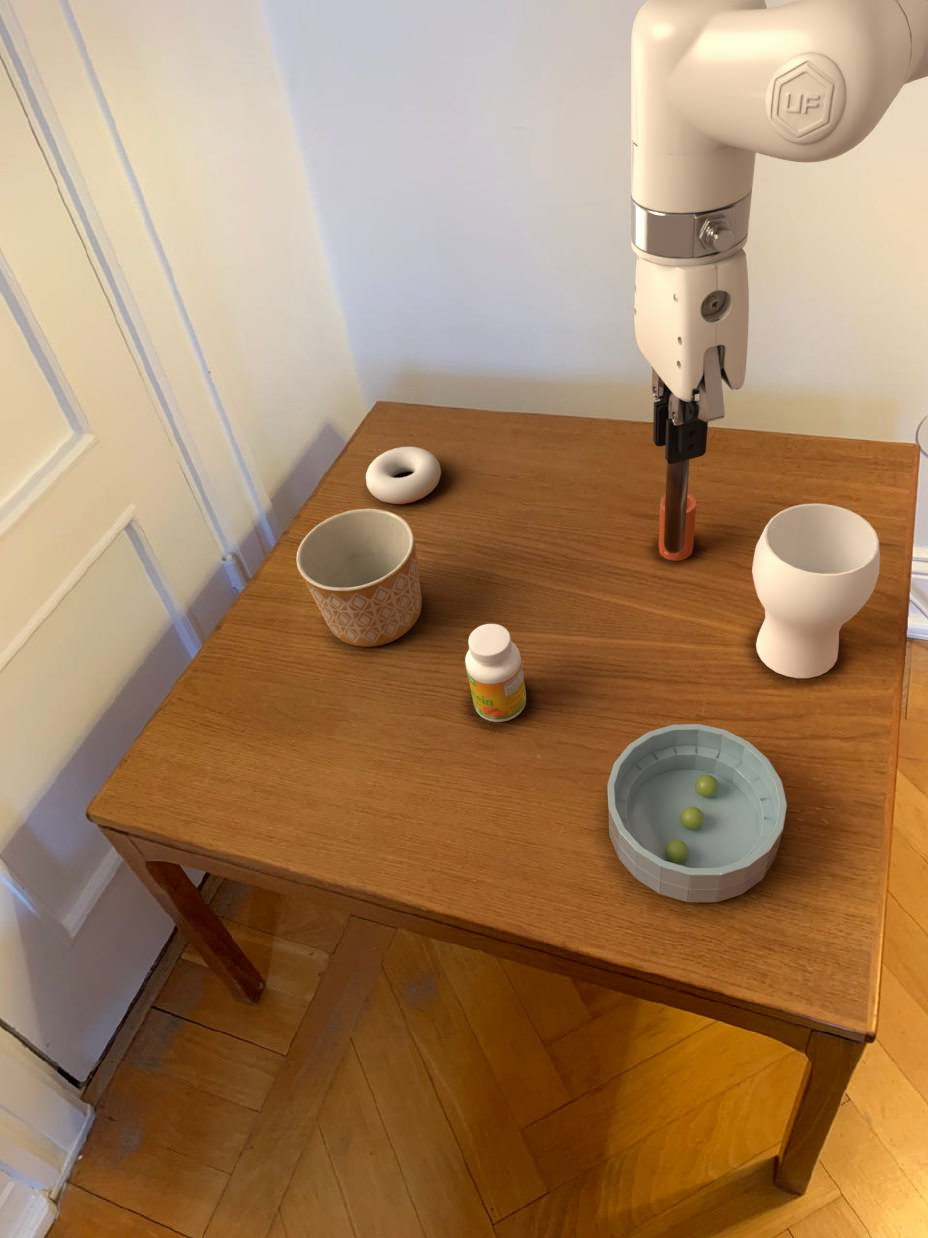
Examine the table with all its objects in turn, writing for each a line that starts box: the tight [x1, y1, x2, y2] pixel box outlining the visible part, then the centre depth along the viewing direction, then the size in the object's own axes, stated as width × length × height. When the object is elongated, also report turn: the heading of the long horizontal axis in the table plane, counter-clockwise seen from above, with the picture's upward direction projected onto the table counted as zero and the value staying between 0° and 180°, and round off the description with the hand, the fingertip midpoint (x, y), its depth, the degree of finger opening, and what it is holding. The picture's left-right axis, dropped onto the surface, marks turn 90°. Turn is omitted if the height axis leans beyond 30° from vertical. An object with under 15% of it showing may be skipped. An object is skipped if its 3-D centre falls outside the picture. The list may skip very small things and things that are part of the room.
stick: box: [664, 393, 693, 553], centre depth 71 cm, size 2×2×17 cm
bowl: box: [606, 723, 788, 903], centre depth 73 cm, size 14×14×6 cm
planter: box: [295, 508, 423, 648], centre depth 94 cm, size 13×13×10 cm
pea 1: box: [665, 840, 689, 865], centre depth 72 cm, size 2×2×2 cm
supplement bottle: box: [464, 623, 527, 723], centre depth 83 cm, size 5×5×10 cm
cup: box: [751, 503, 881, 679], centre depth 81 cm, size 11×11×15 cm
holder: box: [658, 492, 698, 562], centre depth 96 cm, size 4×4×7 cm
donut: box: [365, 446, 442, 505], centre depth 112 cm, size 10×4×10 cm
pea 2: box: [680, 806, 704, 830], centre depth 74 cm, size 2×2×2 cm
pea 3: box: [695, 775, 719, 798], centre depth 75 cm, size 2×2×2 cm
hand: (678, 448), depth 69 cm, fingers closed on stick, 1 cm apart
